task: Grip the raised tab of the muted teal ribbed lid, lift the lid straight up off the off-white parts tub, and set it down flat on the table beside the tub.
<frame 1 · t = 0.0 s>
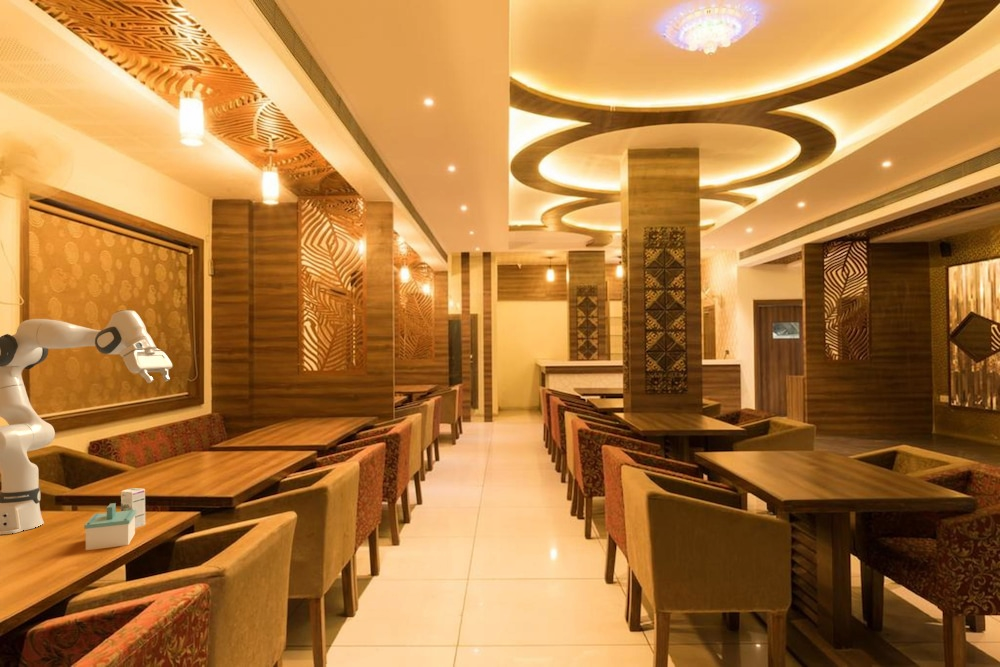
hand: (159, 381, 227), 54 cm above the table, tool tilted 30°, fingers open, 8 cm apart
lid: (111, 520, 208), point 8 cm above the table, touching tub
syrup box: (133, 529, 226), on the table
tub: (111, 544, 208), on the table
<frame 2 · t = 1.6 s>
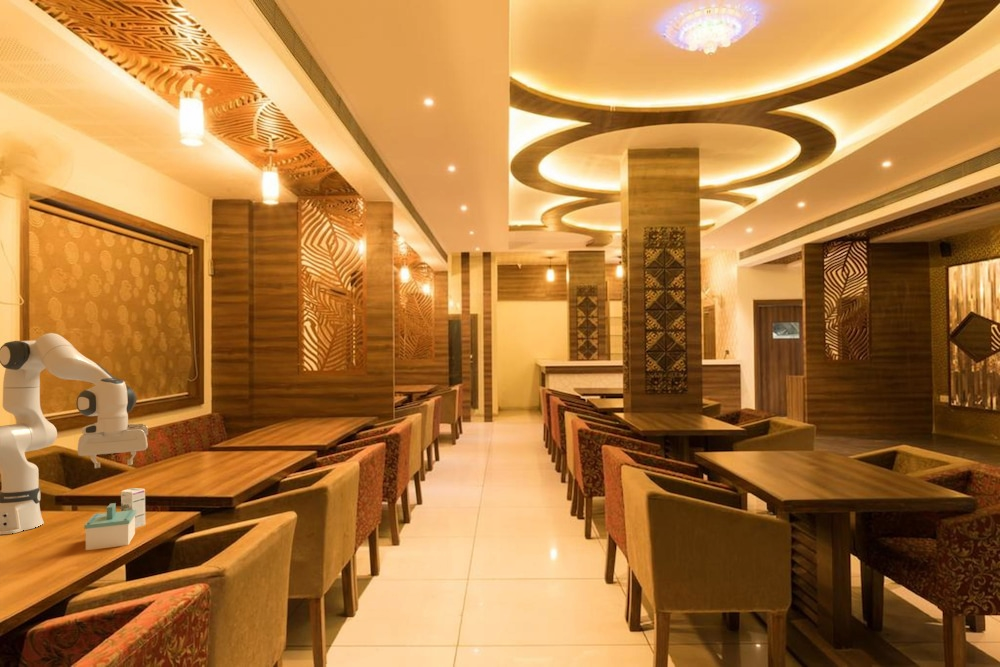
hand: (113, 466, 209), 26 cm above the table, tool pointing down, fingers open, 8 cm apart
nothing on the table moved.
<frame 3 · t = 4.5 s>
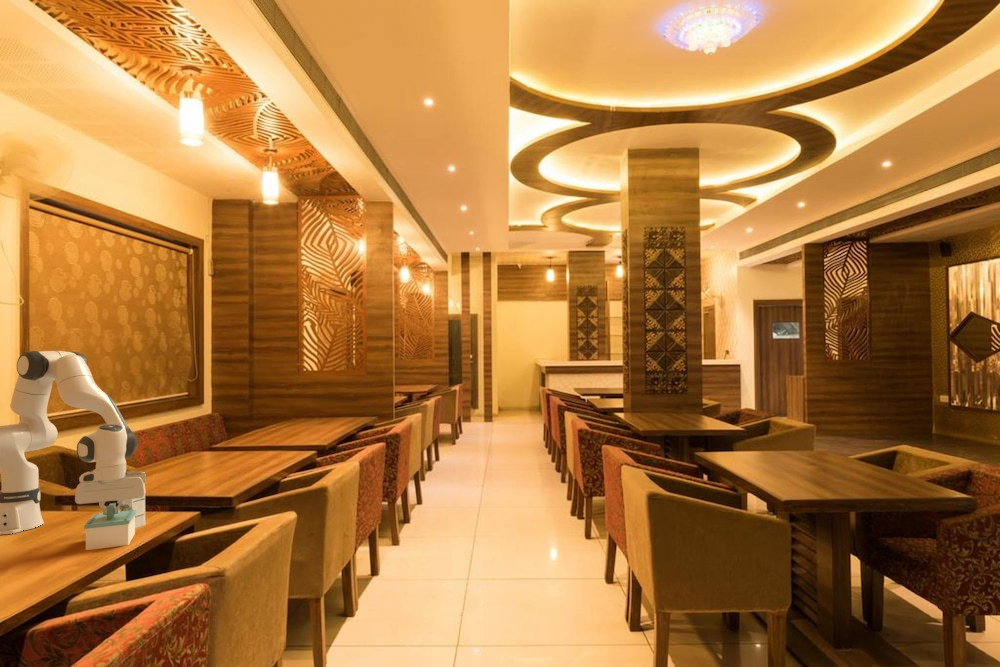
hand: (111, 513, 208), 10 cm above the table, tool pointing down, fingers closed on lid
lid: (111, 520, 208), point 8 cm above the table, touching gripper, tub
everything else where it was.
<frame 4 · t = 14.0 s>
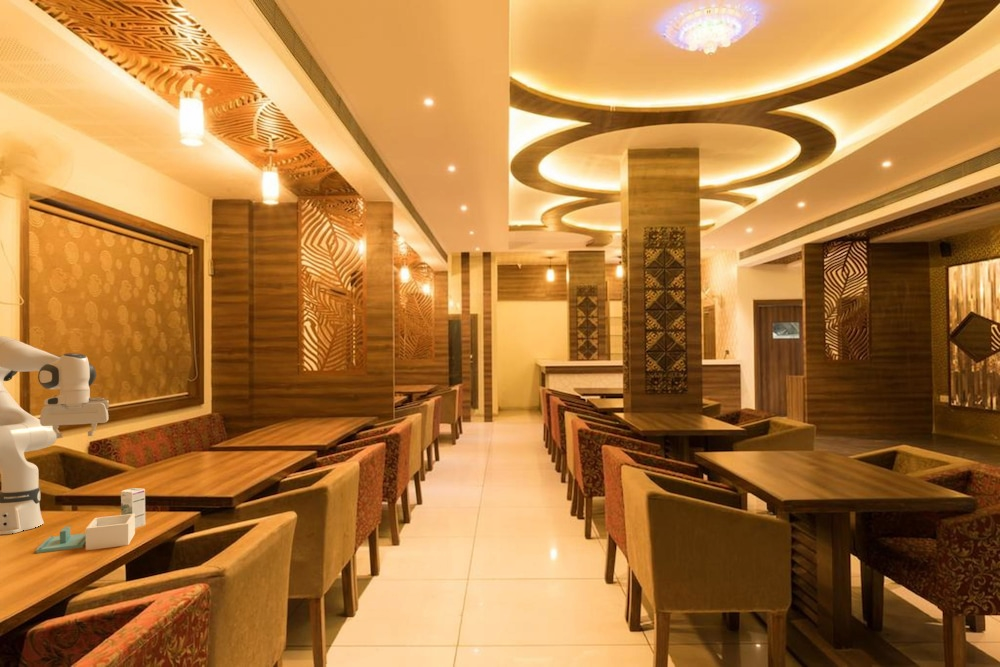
hand: (75, 437, 220), 35 cm above the table, tool pointing down, fingers open, 8 cm apart
lid: (65, 544, 206), point 1 cm above the table
everything else where it was.
at the end: lid inside the target area (0.0 cm from its centre), point 0.8 cm above the table; lid tilted 0°; the gripper is holding nothing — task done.
